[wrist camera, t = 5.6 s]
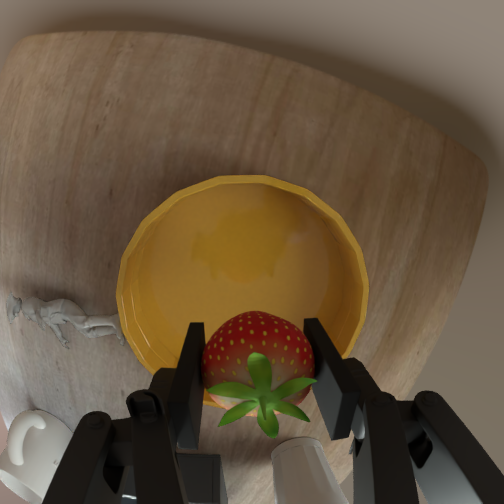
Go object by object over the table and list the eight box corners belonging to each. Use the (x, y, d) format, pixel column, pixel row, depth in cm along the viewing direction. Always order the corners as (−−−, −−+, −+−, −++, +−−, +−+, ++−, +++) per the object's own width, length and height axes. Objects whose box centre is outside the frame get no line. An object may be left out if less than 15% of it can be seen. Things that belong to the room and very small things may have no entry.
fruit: (296, 284, 17) (342, 357, 9) (295, 358, 18) (327, 449, 10) (203, 290, 17) (181, 370, 9) (212, 364, 18) (203, 460, 10)
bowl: (350, 179, 23) (375, 178, 18) (335, 370, 27) (351, 397, 22) (127, 183, 21) (105, 183, 17) (151, 377, 25) (141, 407, 21)
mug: (69, 401, 26) (27, 471, 14) (83, 456, 28) (59, 517, 16) (17, 379, 25) (-30, 434, 13) (37, 437, 27) (6, 489, 15)
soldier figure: (128, 353, 26) (22, 355, 21) (124, 308, 28) (23, 310, 23) (120, 331, 19) (-12, 332, 15) (117, 273, 22) (-7, 277, 17)
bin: (220, 454, 28) (220, 503, 21) (227, 501, 31) (229, 539, 24) (113, 445, 27) (98, 488, 20) (140, 495, 30) (133, 531, 23)
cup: (255, 444, 28) (266, 530, 17) (322, 424, 28) (354, 506, 17) (273, 475, 30) (286, 547, 18) (332, 458, 30) (358, 527, 18)
